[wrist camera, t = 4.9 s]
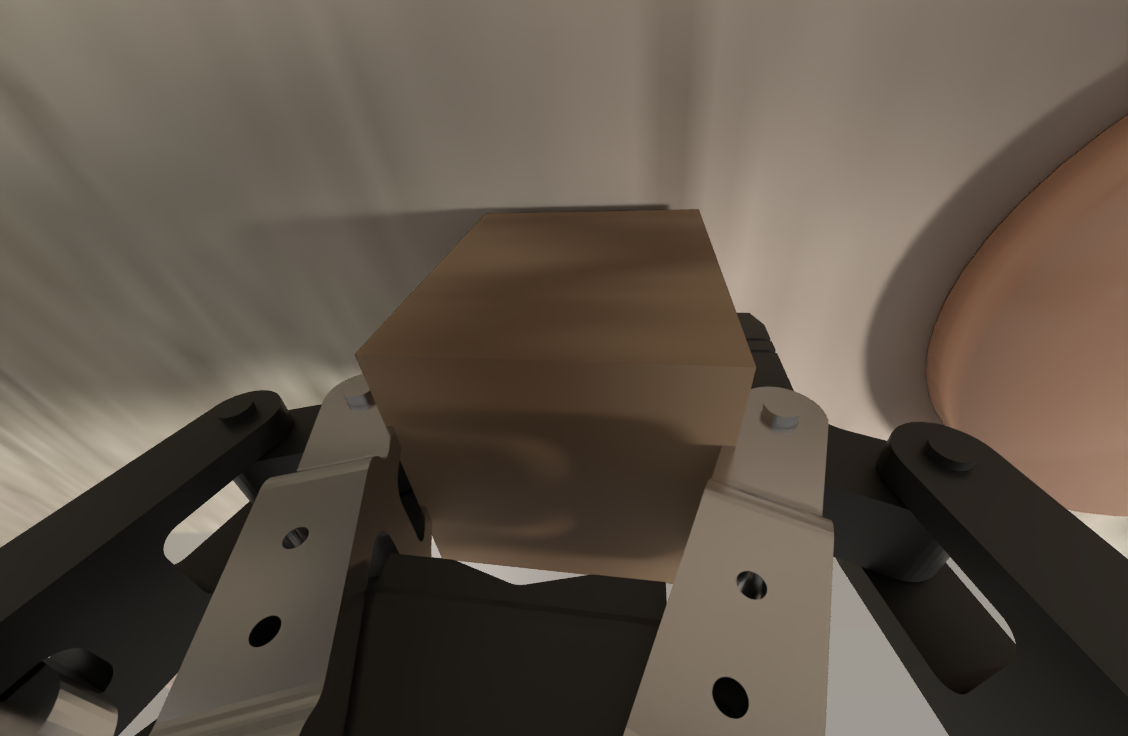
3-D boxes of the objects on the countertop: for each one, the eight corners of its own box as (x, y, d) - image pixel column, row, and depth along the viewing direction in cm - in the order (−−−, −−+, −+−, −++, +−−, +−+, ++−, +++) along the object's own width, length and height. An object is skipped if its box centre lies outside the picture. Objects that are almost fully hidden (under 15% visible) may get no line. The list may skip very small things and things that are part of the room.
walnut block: (698, 209, 10) (756, 367, 5) (677, 382, 13) (700, 586, 8) (485, 213, 10) (354, 354, 6) (512, 376, 13) (442, 559, 9)
